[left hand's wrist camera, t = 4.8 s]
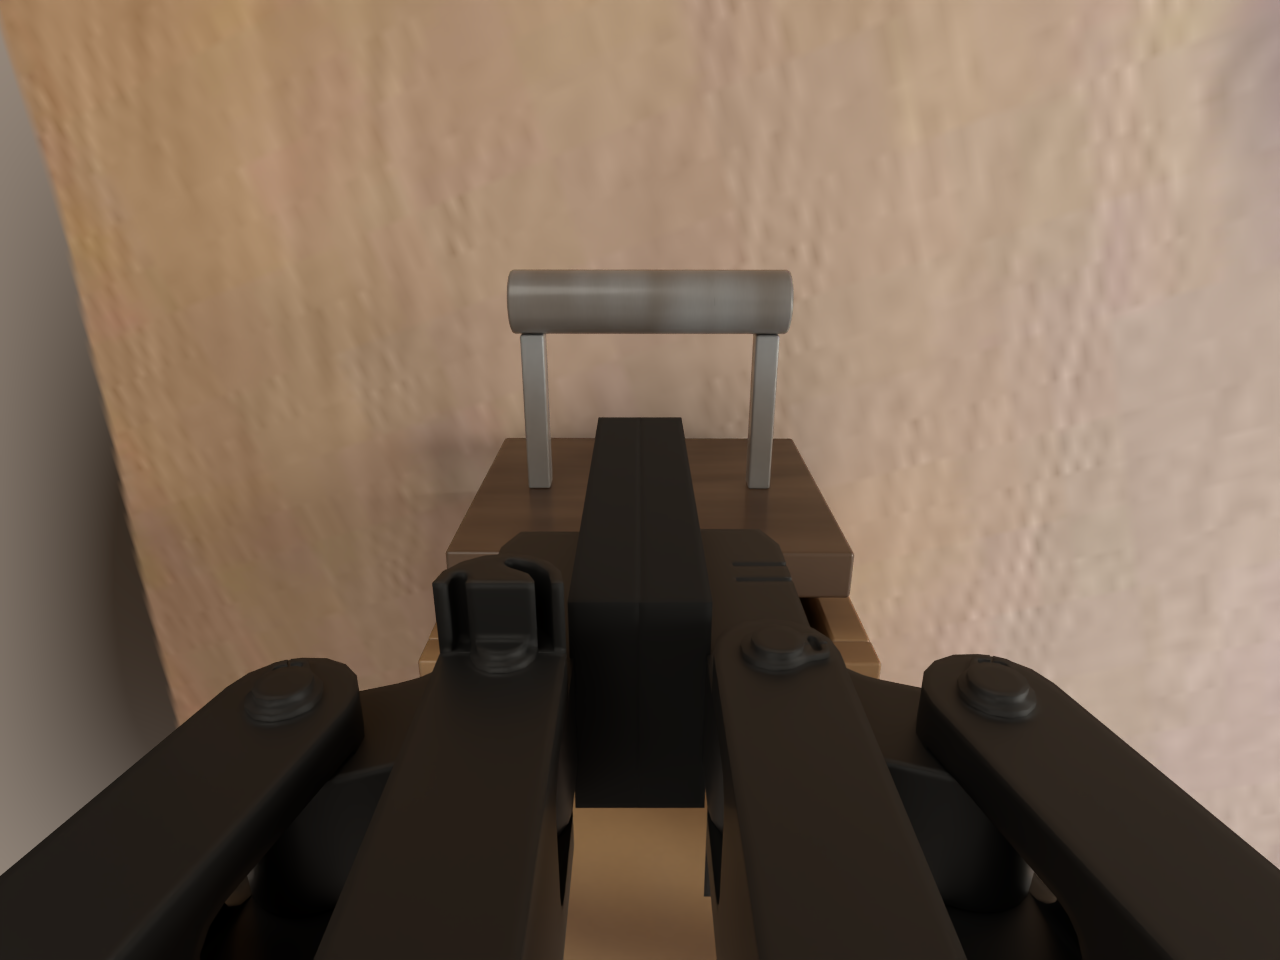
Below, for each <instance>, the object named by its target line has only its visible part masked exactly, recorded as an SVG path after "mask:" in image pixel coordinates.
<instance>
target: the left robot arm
mask: <svg viewBox="0 0 1280 960" xmlns="http://www.w3.org/2000/svg"><path fill="white" fill-rule="evenodd" d="M432 586H433V595H434V604H435V613H436V622H437V631H438V640H439V649H440V654H439V656H438V659H437V661H436V664H435V666H434V669H433V671H432V672H431V673H429V674H426V675H424V676H422V677H419V678H417V679H413V680H409V681H406V682H402V683H398V684H393V685H388V686H383V687H378V688H373V689H368V690H363V691H359V687H358V681H357V675H356V674H355V673H354V672H353V671H352V670H351V669H350V668H349V667H348V666H347V665H346V664H343V663H340V662H336V661H333V660H330V659H327V658H297V659H291V660H284V661H280V662H275V663H273V664H271V665H268V666H266V667H263V668H261V669H258V670H255V671H253V672H250V673H248V674H247V675H245V676H244V677H242V678H240V679H239V680H237V681H236V682H234V683H233V684H231V685H229V686H228V687H226V688H225V689H224V690H223V691H222V692H220V693H219V694H218V695H217V696H216V697H214V698H213V699H212V700H211V701H210V702H208V703H207V704H206V705H205V706H204V707H202V708H201V709H200V710H199V711H198V712H196V713H195V714H194V715H193V716H192V717H190V718H189V719H188V720H187V721H186V722H184V723H183V724H182V725H181V726H180V727H178V728H177V729H176V730H175V731H174V732H172V733H171V734H170V735H169V736H168V737H166V738H165V739H164V740H163V741H162V742H160V743H159V744H158V745H157V746H156V747H154V748H153V749H152V750H151V751H150V752H149V753H147V754H146V755H145V756H144V757H143V758H141V759H140V760H139V761H138V762H136V763H135V764H134V765H133V766H132V767H131V768H129V769H128V770H127V771H126V772H125V773H123V774H122V775H121V776H120V777H118V778H117V779H116V780H115V781H114V782H113V783H111V784H110V785H109V786H108V787H107V788H105V789H104V790H103V791H102V792H100V793H99V794H98V795H97V796H96V797H94V798H93V799H92V800H91V801H90V802H89V803H87V804H86V805H85V806H84V807H83V808H81V809H80V810H79V811H78V812H76V813H75V814H74V815H73V816H72V817H70V818H69V819H68V820H67V821H66V822H65V823H63V824H62V825H61V826H60V827H59V828H57V829H56V830H55V831H54V832H53V833H51V834H50V835H49V836H48V837H47V838H45V839H44V840H43V841H42V842H41V843H39V844H38V845H37V846H36V847H35V848H33V849H32V850H31V851H30V852H29V853H27V854H26V855H25V856H24V857H23V858H21V859H20V860H19V861H18V862H17V863H15V864H14V865H13V866H12V867H11V868H9V869H8V870H7V871H6V872H5V873H3V874H2V875H1V876H0V960H563V958H564V948H565V937H566V927H567V916H568V905H569V895H570V884H571V874H572V863H573V853H574V828H573V803H574V793H575V808H705V789H706V799H707V828H706V853H705V878H704V897H711V904H712V915H713V926H714V936H715V947H716V957H717V960H1280V870H1279V869H1278V868H1277V867H1276V866H1274V865H1273V864H1272V863H1271V862H1270V861H1268V860H1267V859H1266V858H1265V857H1263V856H1262V855H1261V854H1260V853H1259V852H1257V851H1256V850H1255V849H1254V848H1253V847H1251V846H1250V845H1249V844H1248V843H1247V842H1245V841H1244V840H1243V839H1242V838H1241V837H1239V836H1238V835H1237V834H1236V833H1234V832H1233V831H1232V830H1231V829H1230V828H1228V827H1227V826H1226V825H1225V824H1224V823H1222V822H1221V821H1220V820H1219V819H1218V818H1216V817H1215V816H1214V815H1213V814H1211V813H1210V812H1209V811H1208V810H1207V809H1205V808H1204V807H1203V806H1202V805H1201V804H1199V803H1198V802H1197V801H1196V800H1195V799H1193V798H1192V797H1191V796H1190V795H1188V794H1187V793H1186V792H1185V791H1184V790H1182V789H1181V788H1180V787H1179V786H1178V785H1176V784H1175V783H1174V782H1173V781H1172V780H1170V779H1169V778H1168V777H1167V776H1165V775H1164V774H1163V773H1162V772H1161V771H1159V770H1158V769H1157V768H1156V767H1155V766H1153V765H1152V764H1151V763H1150V762H1149V761H1147V760H1146V759H1145V758H1144V757H1142V756H1141V755H1140V754H1139V753H1138V752H1136V751H1135V750H1134V749H1133V748H1132V747H1130V746H1129V745H1128V744H1127V743H1126V742H1124V741H1123V740H1122V739H1121V738H1119V737H1118V736H1117V735H1116V734H1115V733H1113V732H1112V731H1111V730H1110V729H1109V728H1107V727H1106V726H1105V725H1104V724H1103V723H1101V722H1100V721H1099V720H1098V719H1096V718H1095V717H1094V716H1093V715H1092V714H1090V713H1089V712H1088V711H1087V710H1086V709H1084V708H1083V707H1082V706H1081V705H1080V704H1078V703H1077V702H1076V701H1075V700H1073V699H1072V698H1071V697H1070V696H1069V695H1067V694H1066V693H1065V692H1064V691H1063V690H1061V689H1060V688H1059V687H1058V686H1057V685H1055V684H1054V683H1053V682H1051V681H1049V680H1048V679H1046V678H1045V677H1043V676H1042V675H1040V674H1038V673H1037V672H1035V671H1034V670H1032V669H1030V668H1027V667H1025V666H1022V665H1019V664H1017V663H1014V662H1011V661H1009V660H1007V659H1004V658H1000V657H995V656H993V657H991V656H990V655H981V654H966V655H952V656H948V657H945V658H942V659H939V660H936V661H934V662H933V663H932V664H931V665H930V666H929V667H928V668H927V669H926V670H925V671H924V675H923V681H922V687H921V688H919V687H914V686H909V685H904V684H899V683H894V682H889V681H884V680H880V679H876V678H872V677H869V676H865V675H862V674H860V673H857V672H855V671H852V670H850V669H848V668H847V667H846V665H845V663H844V660H843V658H842V655H841V653H840V651H839V650H838V649H837V647H836V646H835V645H834V643H833V642H832V641H831V639H830V638H828V637H826V636H825V635H823V634H822V633H820V632H818V631H817V630H815V629H814V628H811V627H810V625H809V623H808V620H807V617H806V615H805V612H804V609H803V607H802V604H801V601H800V599H799V596H798V593H797V591H796V588H795V585H794V583H793V581H792V577H791V575H790V572H789V569H788V567H787V566H786V561H785V559H784V556H783V553H782V551H781V548H780V545H779V544H778V543H777V542H775V541H774V540H773V539H772V538H770V537H769V536H768V535H766V534H765V533H764V532H763V531H761V530H760V529H700V525H699V519H698V513H697V508H696V502H695V496H694V490H693V484H692V478H691V472H690V466H689V460H688V454H687V448H686V443H685V437H684V431H683V425H682V419H681V418H599V419H598V425H597V431H596V437H595V443H594V448H593V454H592V460H591V466H590V472H589V478H588V484H587V490H586V496H585V502H584V508H583V513H582V519H581V525H580V531H579V532H520V533H518V534H517V535H516V536H514V537H513V538H512V539H511V540H509V541H508V542H507V543H506V544H504V545H503V546H502V547H501V548H500V551H499V554H496V555H485V556H480V557H477V558H473V559H469V560H466V561H462V562H460V563H458V564H456V565H454V566H452V567H450V568H448V569H446V570H445V571H443V572H442V573H441V574H440V575H439V576H438V577H437V579H436V580H435V581H434V582H433V583H432ZM1035 873H1036V874H1035ZM1041 880H1042V881H1041Z"/></svg>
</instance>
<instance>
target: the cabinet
mask: <svg viewBox="0 0 1280 960" xmlns="http://www.w3.org/2000/svg"><path fill="white" fill-rule="evenodd" d="M799 599H800V601H801V604H802V607H803V609H804V612H805V615H806V617H807V620H808V623H809V625H810V627H811V628H814V629H815V630H817V631H818V632H820V633H822V634H823V635H825V636H826V637H828V638H830V639H831V641H832V642H833V643H834V645H835V646H836V647H837V649H838V650H839V651H840V653H841V655H842V658H843V660H844V663H845V665H846V667H847V668H848V669H850V670H852V671H855V672H857V673H860V674H862V675H865V676H869V677H872V678H876V679H879V676H880V668H881V663H880V661H879V658H878V656H877V654H876V652H875V650H874V648H873V646H872V644H871V642H870V641H869V638H868V636H867V634H866V632H865V630H864V628H863V625H862V623H861V621H860V619H859V617H858V615H857V613H856V611H855V609H854V606H853V604H852V602H851V600H850V598H849V597H847V598H799ZM439 654H440V649H439V640H438V631H437V622H436V624H435V626H434V628H433V630H432V632H431V635H430V637H429V641H428V642H427V644H426V646H425V649H424V651H423V653H422V655H421V657H420V659H419V662H418V664H419V672H420V677H422V676H424V675H426V674H429V673H431V672H432V671H433V669H434V666H435V664H436V661H437V659H438V656H439ZM573 828H574V853H573V863H572V874H571V884H570V895H569V905H568V916H567V927H566V937H565V948H564V958H563V960H717V957H716V947H715V936H714V926H713V915H712V904H711V897H704V878H705V853H706V828H707V799H706V789H705V808H575V793H574V803H573Z"/></svg>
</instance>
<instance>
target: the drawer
mask: <svg viewBox="0 0 1280 960" xmlns="http://www.w3.org/2000/svg"><path fill="white" fill-rule="evenodd" d="M507 310H508V319H509V324H510V327H511V330H512V332H513V333H515V334H522V335H521V336H520V343H521V360H522V378H523V395H524V413H525V431H526V438H507V439H505V441H504V443H503V445H502V446H501V448H500V450H499V452H498V454H497V456H496V458H495V460H494V462H493V464H492V466H491V467H490V469H489V471H488V473H487V475H486V477H485V479H484V481H483V483H482V485H481V487H480V488H479V490H478V492H477V494H476V496H475V498H474V500H473V502H472V504H471V506H470V508H469V509H468V511H467V513H466V515H465V517H464V519H463V521H462V523H461V525H460V527H459V529H458V531H457V532H456V534H455V536H454V538H453V540H452V542H451V544H450V546H449V548H448V550H447V552H446V562H447V569H448V568H450V567H452V566H454V565H456V564H458V563H460V562H462V561H466V560H469V559H473V558H477V557H480V556H485V555H496V554H499V551H500V548H501V547H502V546H503V545H504V544H506V543H507V542H508V541H509V540H511V539H512V538H513V537H514V536H516V535H517V534H518V533H520V532H579V531H580V525H581V519H582V513H583V508H584V502H585V496H586V490H587V484H588V478H589V472H590V466H591V460H592V454H593V448H594V443H595V438H551V434H550V412H549V389H548V367H547V344H546V334H753V352H752V371H751V390H750V409H749V427H748V439H685V443H686V448H687V454H688V460H689V466H690V472H691V478H692V484H693V490H694V496H695V502H696V508H697V513H698V519H699V525H700V529H760V530H761V531H763V532H764V533H765V534H766V535H768V536H769V537H770V538H772V539H773V540H774V541H775V542H777V543H778V544H779V545H780V548H781V551H782V553H783V556H784V559H785V561H786V566H787V567H788V569H789V572H790V575H791V577H792V581H793V583H794V585H795V588H796V591H797V593H798V596H799V598H847V597H849V594H850V587H851V578H852V569H853V560H854V554H853V552H852V550H851V548H850V546H849V544H848V542H847V540H846V539H845V537H844V535H843V533H842V531H841V529H840V527H839V526H838V524H837V522H836V520H835V518H834V516H833V514H832V513H831V511H830V509H829V507H828V505H827V503H826V501H825V500H824V498H823V496H822V494H821V492H820V490H819V488H818V487H817V485H816V483H815V481H814V479H813V477H812V475H811V474H810V472H809V470H808V468H807V466H806V464H805V462H804V461H803V459H802V457H801V455H800V453H799V451H798V449H797V448H796V446H795V444H794V442H793V440H792V439H773V428H774V413H775V397H776V382H777V367H778V352H779V336H778V334H785V333H787V332H788V330H789V328H790V324H791V319H792V312H793V281H792V276H791V273H790V271H788V270H512V271H510V274H509V277H508V283H507Z"/></svg>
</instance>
